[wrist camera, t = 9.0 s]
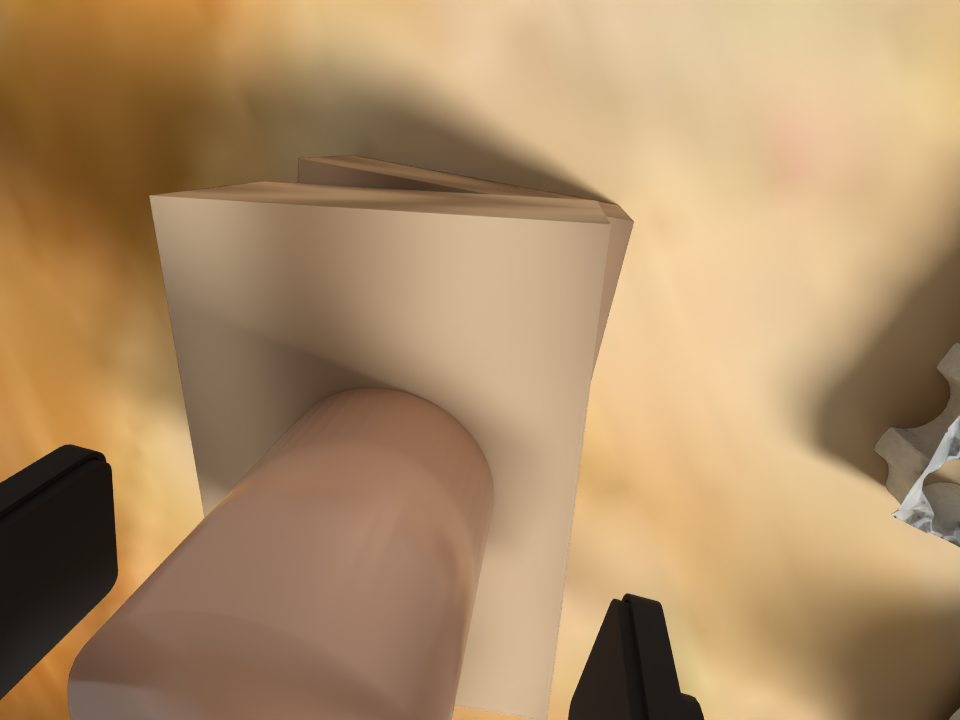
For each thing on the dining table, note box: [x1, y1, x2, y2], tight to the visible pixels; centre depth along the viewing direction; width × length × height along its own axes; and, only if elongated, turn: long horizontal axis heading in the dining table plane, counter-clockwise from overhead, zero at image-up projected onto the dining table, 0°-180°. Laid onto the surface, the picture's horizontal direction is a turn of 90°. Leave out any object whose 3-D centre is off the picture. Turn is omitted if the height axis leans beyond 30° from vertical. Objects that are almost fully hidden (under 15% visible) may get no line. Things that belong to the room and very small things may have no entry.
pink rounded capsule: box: [67, 388, 494, 720], centre depth 10 cm, size 5×5×6 cm
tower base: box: [298, 155, 634, 379], centre depth 19 cm, size 9×13×4 cm
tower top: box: [149, 181, 611, 720], centre depth 15 cm, size 9×13×4 cm
